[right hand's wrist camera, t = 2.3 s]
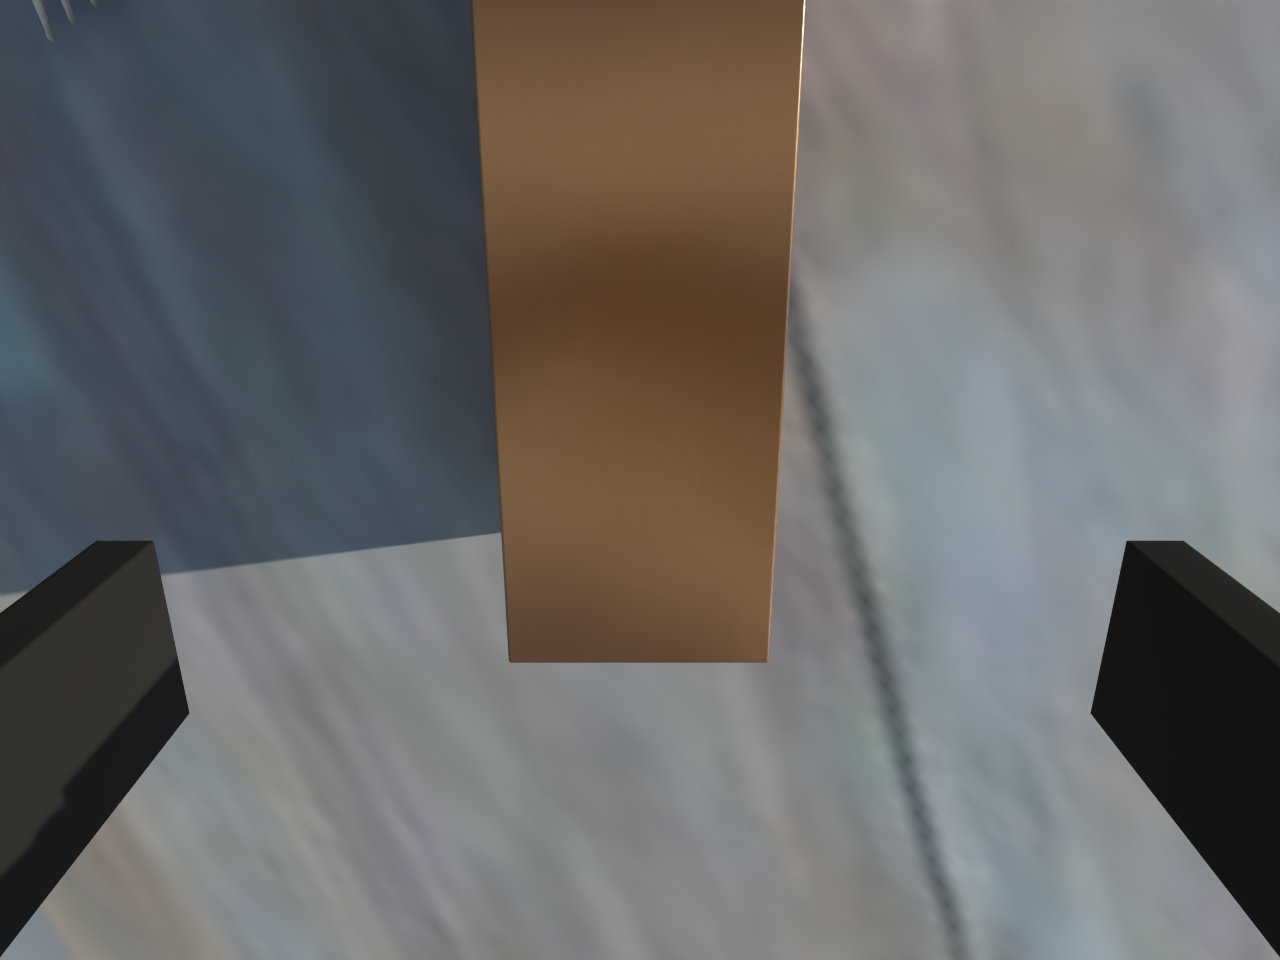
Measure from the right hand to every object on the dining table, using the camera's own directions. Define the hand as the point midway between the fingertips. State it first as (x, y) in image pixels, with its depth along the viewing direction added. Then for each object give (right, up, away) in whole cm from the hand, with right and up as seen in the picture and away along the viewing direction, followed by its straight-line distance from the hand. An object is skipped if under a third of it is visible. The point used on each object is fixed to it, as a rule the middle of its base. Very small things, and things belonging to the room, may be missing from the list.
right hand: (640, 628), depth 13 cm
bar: (0, +12, +12) cm, 17 cm away
